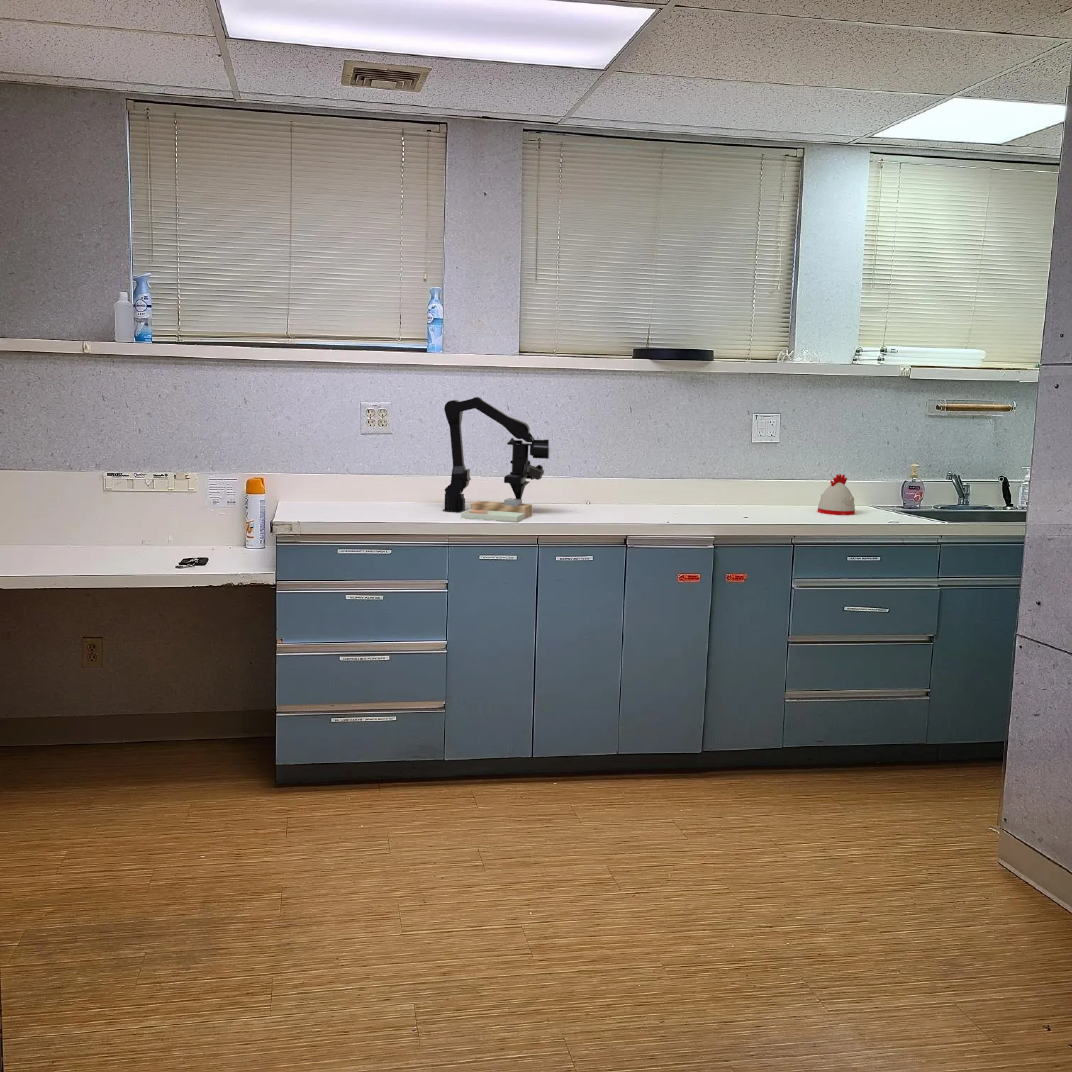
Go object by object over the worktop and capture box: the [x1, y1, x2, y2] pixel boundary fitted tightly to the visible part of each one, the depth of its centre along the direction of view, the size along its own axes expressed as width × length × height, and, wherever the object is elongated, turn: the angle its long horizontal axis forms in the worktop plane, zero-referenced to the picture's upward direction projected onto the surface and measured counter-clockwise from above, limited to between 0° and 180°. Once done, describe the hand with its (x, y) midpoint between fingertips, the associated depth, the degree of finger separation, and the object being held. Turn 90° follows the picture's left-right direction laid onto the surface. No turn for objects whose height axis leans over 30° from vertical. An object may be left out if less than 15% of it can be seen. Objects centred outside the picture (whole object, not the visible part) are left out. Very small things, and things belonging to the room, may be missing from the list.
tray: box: [460, 508, 526, 523], centre depth 371 cm, size 20×10×2 cm, turn 75°
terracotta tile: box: [469, 510, 488, 514], centre depth 372 cm, size 5×5×2 cm
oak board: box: [470, 500, 533, 519], centre depth 380 cm, size 20×8×4 cm, turn 74°
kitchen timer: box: [817, 474, 856, 516], centre depth 416 cm, size 14×14×15 cm
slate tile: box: [503, 497, 523, 506], centre depth 378 cm, size 5×5×2 cm
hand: (518, 501), depth 385 cm, fingers closed
